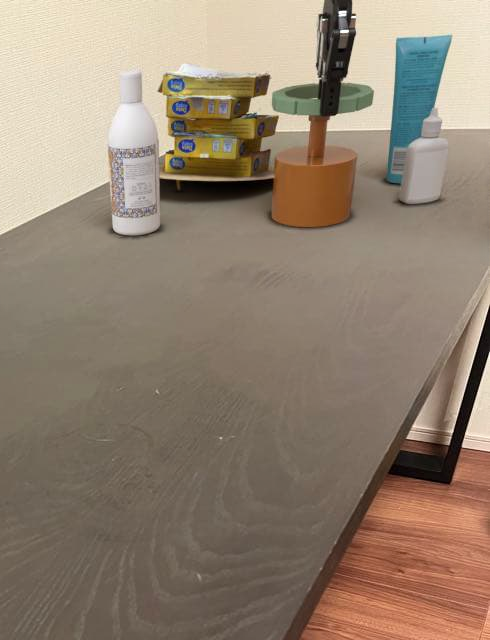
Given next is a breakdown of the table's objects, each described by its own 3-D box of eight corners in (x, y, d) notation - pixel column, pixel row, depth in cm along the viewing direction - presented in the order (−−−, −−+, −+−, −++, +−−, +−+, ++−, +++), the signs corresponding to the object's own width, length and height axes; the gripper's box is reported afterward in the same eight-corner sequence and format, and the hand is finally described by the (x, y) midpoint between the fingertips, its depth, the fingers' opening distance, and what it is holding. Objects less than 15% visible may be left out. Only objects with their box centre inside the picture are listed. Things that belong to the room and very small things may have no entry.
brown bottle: (342, 201, 117) (354, 103, 109) (356, 224, 109) (370, 120, 101) (267, 206, 119) (273, 109, 110) (275, 229, 110) (282, 126, 102)
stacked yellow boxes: (181, 159, 144) (180, 53, 134) (309, 170, 132) (319, 54, 122) (104, 196, 130) (97, 80, 119) (240, 212, 117) (245, 84, 107)
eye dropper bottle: (440, 205, 112) (458, 111, 105) (398, 204, 114) (413, 112, 107) (439, 196, 116) (456, 104, 108) (398, 196, 117) (412, 105, 110)
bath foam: (120, 221, 118) (112, 68, 106) (165, 221, 116) (162, 66, 104) (107, 236, 113) (97, 77, 101) (153, 237, 111) (149, 75, 99)
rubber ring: (362, 92, 109) (363, 79, 108) (378, 112, 99) (380, 97, 98) (269, 98, 111) (270, 86, 110) (276, 118, 101) (277, 104, 100)
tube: (422, 174, 125) (447, 31, 113) (430, 183, 121) (457, 36, 109) (374, 177, 126) (393, 36, 114) (380, 186, 122) (401, 40, 110)
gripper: (391, -57, 84) (367, 123, 95) (366, -61, 95) (347, 101, 105) (318, -51, 85) (303, 127, 96) (302, -55, 96) (290, 105, 106)
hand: (326, 113), depth 101 cm, fingers closed on rubber ring, 2 cm apart
